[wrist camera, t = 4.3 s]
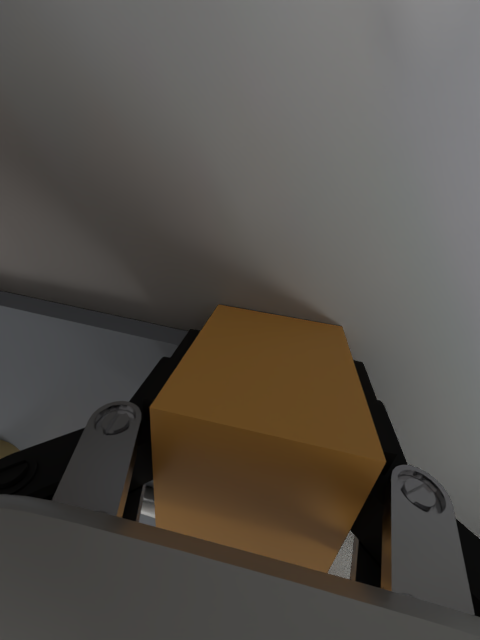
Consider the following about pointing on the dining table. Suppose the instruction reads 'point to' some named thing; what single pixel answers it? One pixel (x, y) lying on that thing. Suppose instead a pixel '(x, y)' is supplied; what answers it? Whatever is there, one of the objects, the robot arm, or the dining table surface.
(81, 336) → the plate
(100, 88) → the dining table surface
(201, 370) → the amber toy cube
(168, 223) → the dining table surface
